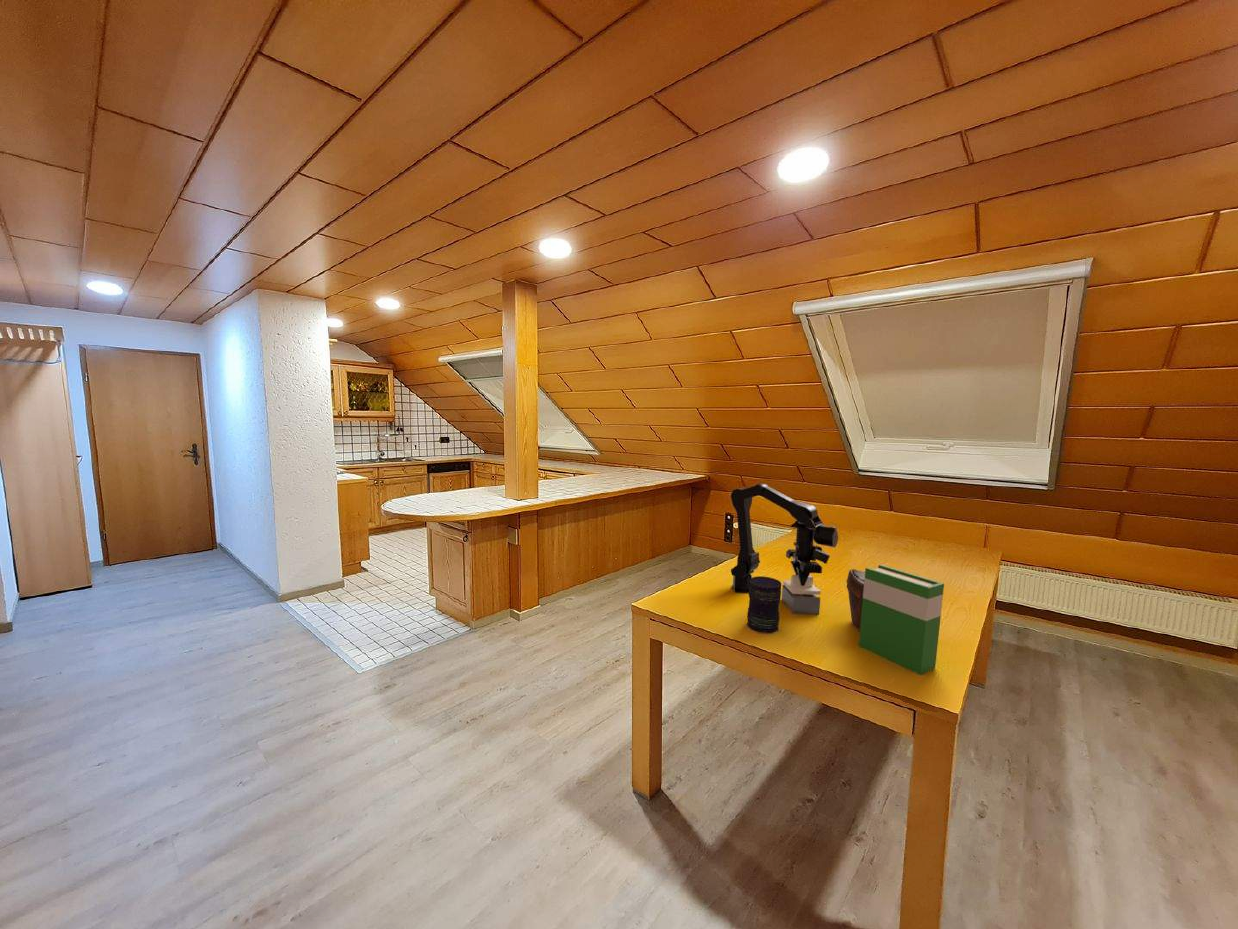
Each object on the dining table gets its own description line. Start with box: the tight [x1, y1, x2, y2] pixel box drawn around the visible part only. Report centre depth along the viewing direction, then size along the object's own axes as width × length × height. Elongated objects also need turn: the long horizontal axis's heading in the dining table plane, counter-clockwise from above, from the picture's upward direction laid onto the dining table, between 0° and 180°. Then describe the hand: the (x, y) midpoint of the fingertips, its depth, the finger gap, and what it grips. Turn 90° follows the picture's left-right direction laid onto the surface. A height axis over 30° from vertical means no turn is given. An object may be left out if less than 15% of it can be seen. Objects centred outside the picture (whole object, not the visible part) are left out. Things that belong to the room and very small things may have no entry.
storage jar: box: [746, 575, 782, 634], centre depth 154 cm, size 10×10×15 cm
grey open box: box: [781, 584, 821, 615], centre depth 172 cm, size 9×12×6 cm
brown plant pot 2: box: [846, 568, 865, 630], centre depth 156 cm, size 18×20×18 cm
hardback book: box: [858, 564, 945, 676], centre depth 137 cm, size 18×7×24 cm, turn 30°
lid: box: [782, 574, 821, 596], centre depth 171 cm, size 10×10×5 cm
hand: (801, 584), depth 171 cm, fingers closed on lid
